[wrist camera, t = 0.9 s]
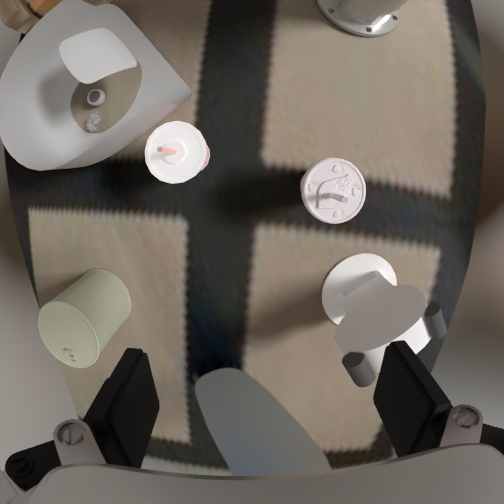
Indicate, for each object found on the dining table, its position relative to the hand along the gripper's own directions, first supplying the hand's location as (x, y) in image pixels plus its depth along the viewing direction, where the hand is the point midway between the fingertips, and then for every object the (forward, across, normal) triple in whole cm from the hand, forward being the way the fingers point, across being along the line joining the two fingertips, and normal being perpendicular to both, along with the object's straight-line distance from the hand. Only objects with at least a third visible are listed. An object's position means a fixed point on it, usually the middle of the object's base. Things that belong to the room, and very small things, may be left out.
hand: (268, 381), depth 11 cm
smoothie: (+29, -7, -5) cm, 31 cm away
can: (+29, +22, +10) cm, 38 cm away
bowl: (+29, +20, -18) cm, 40 cm away
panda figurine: (+29, -14, +10) cm, 34 cm away
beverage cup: (+29, +8, -9) cm, 32 cm away
